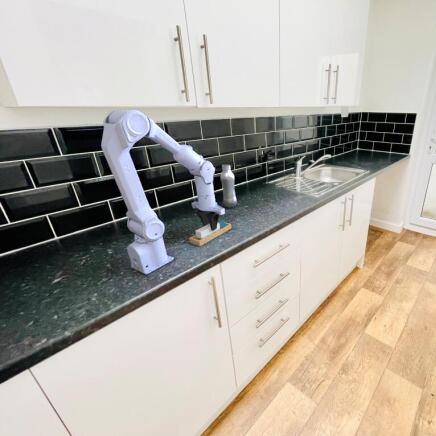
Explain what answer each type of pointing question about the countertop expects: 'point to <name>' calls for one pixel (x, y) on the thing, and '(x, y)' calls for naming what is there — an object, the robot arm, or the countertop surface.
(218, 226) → the marker
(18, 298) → the countertop surface
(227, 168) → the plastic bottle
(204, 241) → the pen tray
